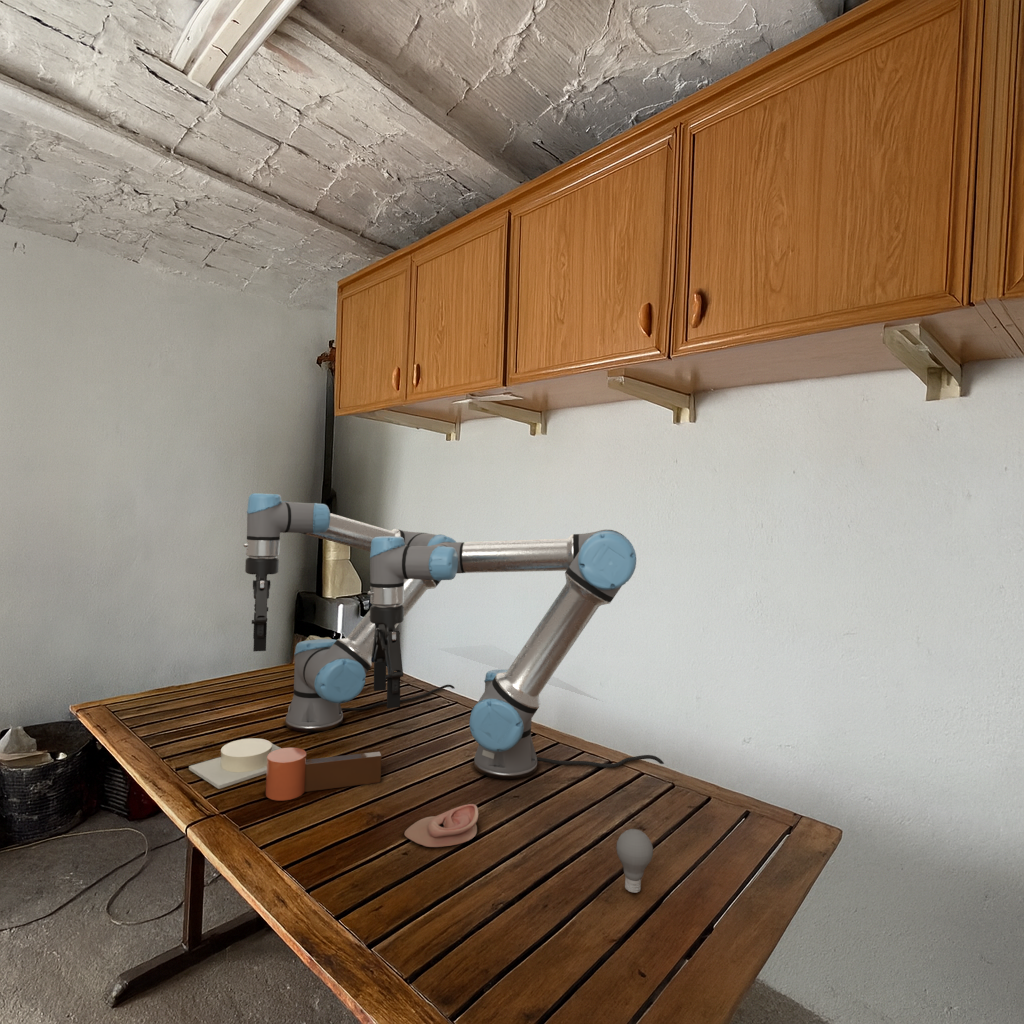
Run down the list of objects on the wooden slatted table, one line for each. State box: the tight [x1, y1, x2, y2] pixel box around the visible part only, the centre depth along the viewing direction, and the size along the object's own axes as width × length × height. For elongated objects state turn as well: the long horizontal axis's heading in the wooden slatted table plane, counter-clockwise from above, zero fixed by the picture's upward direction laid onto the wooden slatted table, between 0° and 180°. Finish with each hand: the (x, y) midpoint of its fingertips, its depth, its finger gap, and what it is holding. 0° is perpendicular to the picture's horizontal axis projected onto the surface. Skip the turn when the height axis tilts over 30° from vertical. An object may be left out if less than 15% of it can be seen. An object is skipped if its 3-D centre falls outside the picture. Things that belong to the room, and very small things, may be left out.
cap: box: [220, 738, 273, 772], centre depth 147 cm, size 11×11×4 cm
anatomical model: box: [404, 803, 479, 848], centre depth 121 cm, size 13×4×12 cm
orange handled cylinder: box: [265, 747, 382, 802], centre depth 138 cm, size 24×8×8 cm, turn 112°
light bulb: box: [615, 828, 654, 894], centre depth 106 cm, size 6×6×10 cm
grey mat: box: [188, 743, 283, 790], centre depth 147 cm, size 20×14×1 cm
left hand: (259, 644), depth 154 cm, fingers open, 13 cm apart
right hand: (386, 698), depth 143 cm, fingers open, 13 cm apart
